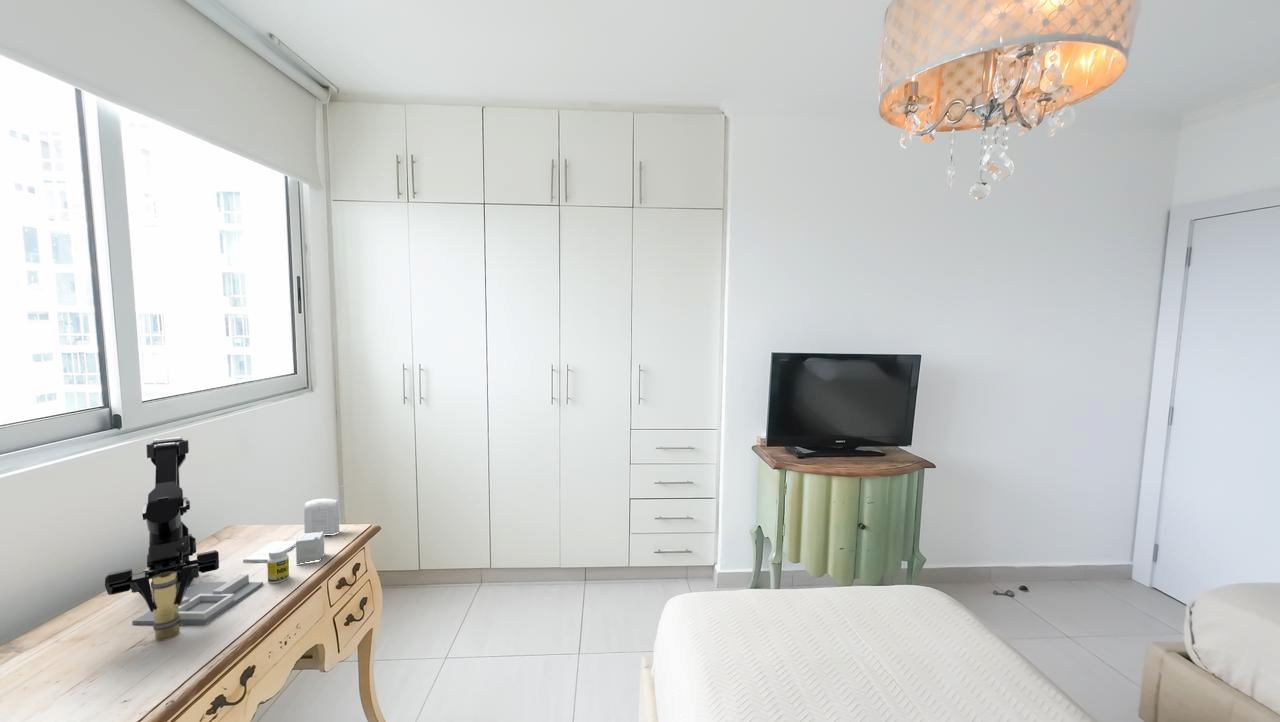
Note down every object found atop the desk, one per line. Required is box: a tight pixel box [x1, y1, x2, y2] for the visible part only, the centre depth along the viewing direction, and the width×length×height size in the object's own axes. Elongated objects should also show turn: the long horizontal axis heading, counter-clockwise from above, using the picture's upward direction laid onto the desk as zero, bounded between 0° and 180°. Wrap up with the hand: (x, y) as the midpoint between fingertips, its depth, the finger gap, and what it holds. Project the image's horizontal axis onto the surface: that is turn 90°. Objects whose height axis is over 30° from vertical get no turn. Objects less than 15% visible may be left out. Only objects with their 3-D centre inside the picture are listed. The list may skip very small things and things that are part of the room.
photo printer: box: [303, 498, 340, 534], centre depth 166 cm, size 10×4×12 cm, turn 103°
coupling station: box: [131, 573, 264, 626], centre depth 124 cm, size 17×18×3 cm
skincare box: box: [295, 532, 325, 565], centre depth 148 cm, size 6×6×7 cm
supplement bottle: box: [266, 547, 290, 584], centre depth 136 cm, size 5×5×8 cm
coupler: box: [150, 571, 181, 642], centre depth 111 cm, size 4×4×14 cm
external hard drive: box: [242, 540, 297, 563], centre depth 152 cm, size 2×8×12 cm
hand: (165, 607), depth 110 cm, fingers closed on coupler, 4 cm apart
